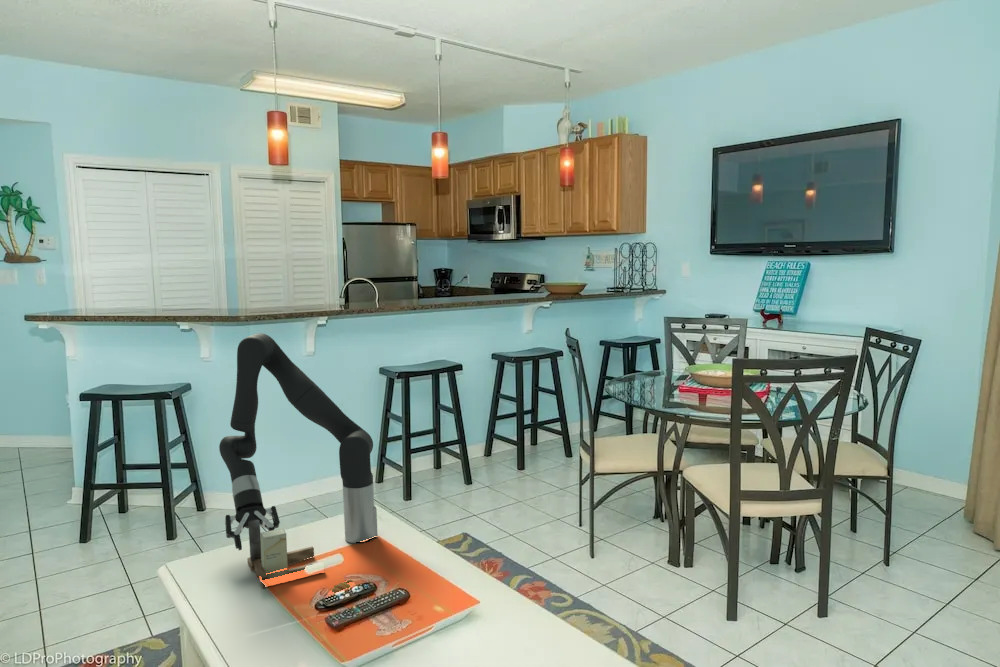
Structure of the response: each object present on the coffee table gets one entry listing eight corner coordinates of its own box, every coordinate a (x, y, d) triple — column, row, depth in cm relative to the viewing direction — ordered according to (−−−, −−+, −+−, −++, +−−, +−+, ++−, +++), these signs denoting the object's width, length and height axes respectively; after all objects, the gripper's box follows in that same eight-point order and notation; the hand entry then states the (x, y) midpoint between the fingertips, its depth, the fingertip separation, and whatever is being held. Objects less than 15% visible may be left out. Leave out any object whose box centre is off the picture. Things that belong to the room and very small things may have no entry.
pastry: (334, 612, 157) (333, 597, 157) (315, 605, 161) (314, 590, 161) (362, 596, 165) (361, 581, 165) (343, 589, 169) (343, 575, 169)
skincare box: (265, 581, 174) (262, 538, 172) (261, 575, 177) (259, 532, 176) (289, 575, 177) (286, 532, 176) (285, 569, 181) (282, 527, 179)
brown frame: (307, 549, 193) (305, 508, 192) (325, 572, 178) (322, 528, 176) (247, 563, 185) (245, 520, 184) (260, 589, 169) (257, 543, 168)
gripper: (221, 492, 185) (230, 545, 176) (273, 483, 192) (284, 534, 183) (220, 505, 190) (228, 557, 181) (270, 495, 197) (281, 545, 188)
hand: (256, 545), depth 182 cm, fingers open, 8 cm apart
